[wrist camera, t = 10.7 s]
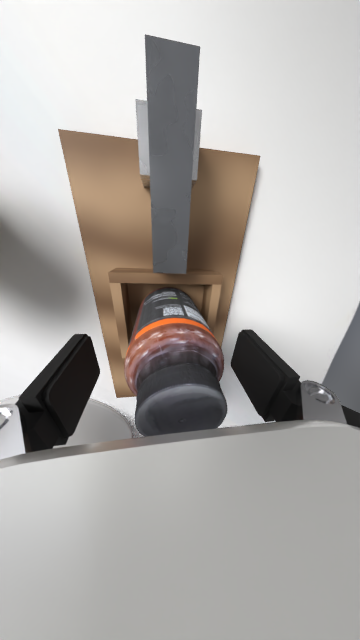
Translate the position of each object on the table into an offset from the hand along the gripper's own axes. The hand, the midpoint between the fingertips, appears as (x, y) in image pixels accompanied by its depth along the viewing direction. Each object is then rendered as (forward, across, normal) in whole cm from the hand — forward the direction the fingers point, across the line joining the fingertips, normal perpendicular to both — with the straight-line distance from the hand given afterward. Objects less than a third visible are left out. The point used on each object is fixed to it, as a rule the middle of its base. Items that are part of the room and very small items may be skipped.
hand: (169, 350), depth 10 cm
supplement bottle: (+7, 0, +1) cm, 7 cm away
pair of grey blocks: (+7, -2, +1) cm, 7 cm away
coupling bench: (+8, 0, +1) cm, 8 cm away
